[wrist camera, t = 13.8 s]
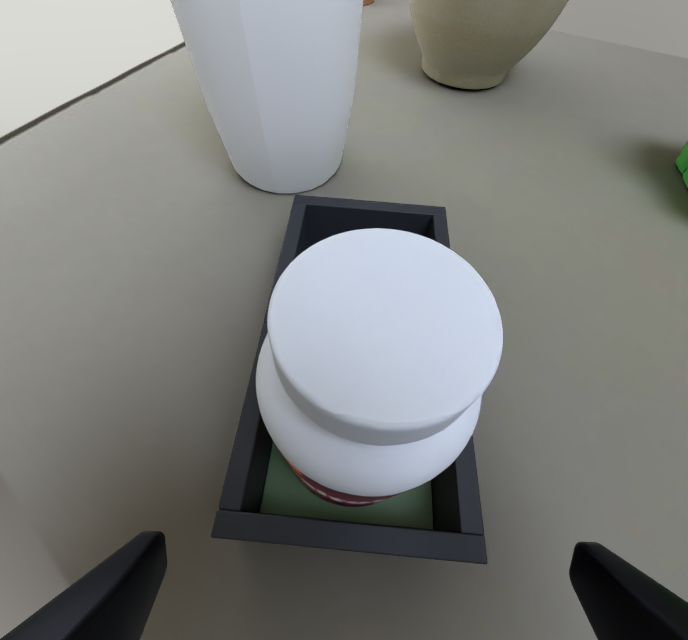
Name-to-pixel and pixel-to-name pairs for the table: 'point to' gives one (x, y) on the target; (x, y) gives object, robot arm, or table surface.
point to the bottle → (276, 83)
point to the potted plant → (367, 2)
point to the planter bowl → (479, 37)
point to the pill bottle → (376, 363)
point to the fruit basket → (683, 163)
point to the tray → (285, 487)
